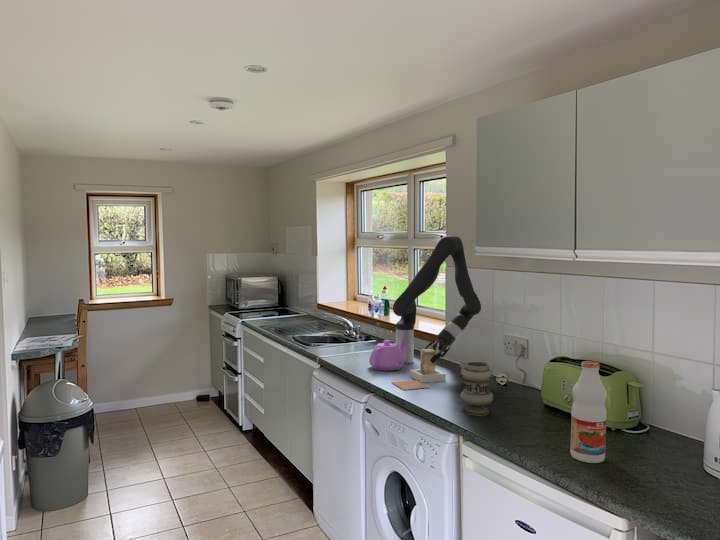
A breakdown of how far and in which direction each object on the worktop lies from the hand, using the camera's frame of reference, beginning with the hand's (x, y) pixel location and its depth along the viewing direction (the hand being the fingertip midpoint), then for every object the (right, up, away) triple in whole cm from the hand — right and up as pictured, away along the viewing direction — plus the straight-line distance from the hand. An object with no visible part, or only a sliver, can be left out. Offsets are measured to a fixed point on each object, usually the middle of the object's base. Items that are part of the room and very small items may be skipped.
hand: (427, 360), depth 246 cm
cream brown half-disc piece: (+18, -10, -12) cm, 24 cm away
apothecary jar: (+12, -11, -47) cm, 50 cm away
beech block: (0, -8, +1) cm, 8 cm away
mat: (-9, -9, -12) cm, 18 cm away
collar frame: (0, -8, +1) cm, 8 cm away
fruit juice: (+36, -14, -88) cm, 96 cm away
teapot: (-16, -8, +18) cm, 25 cm away
